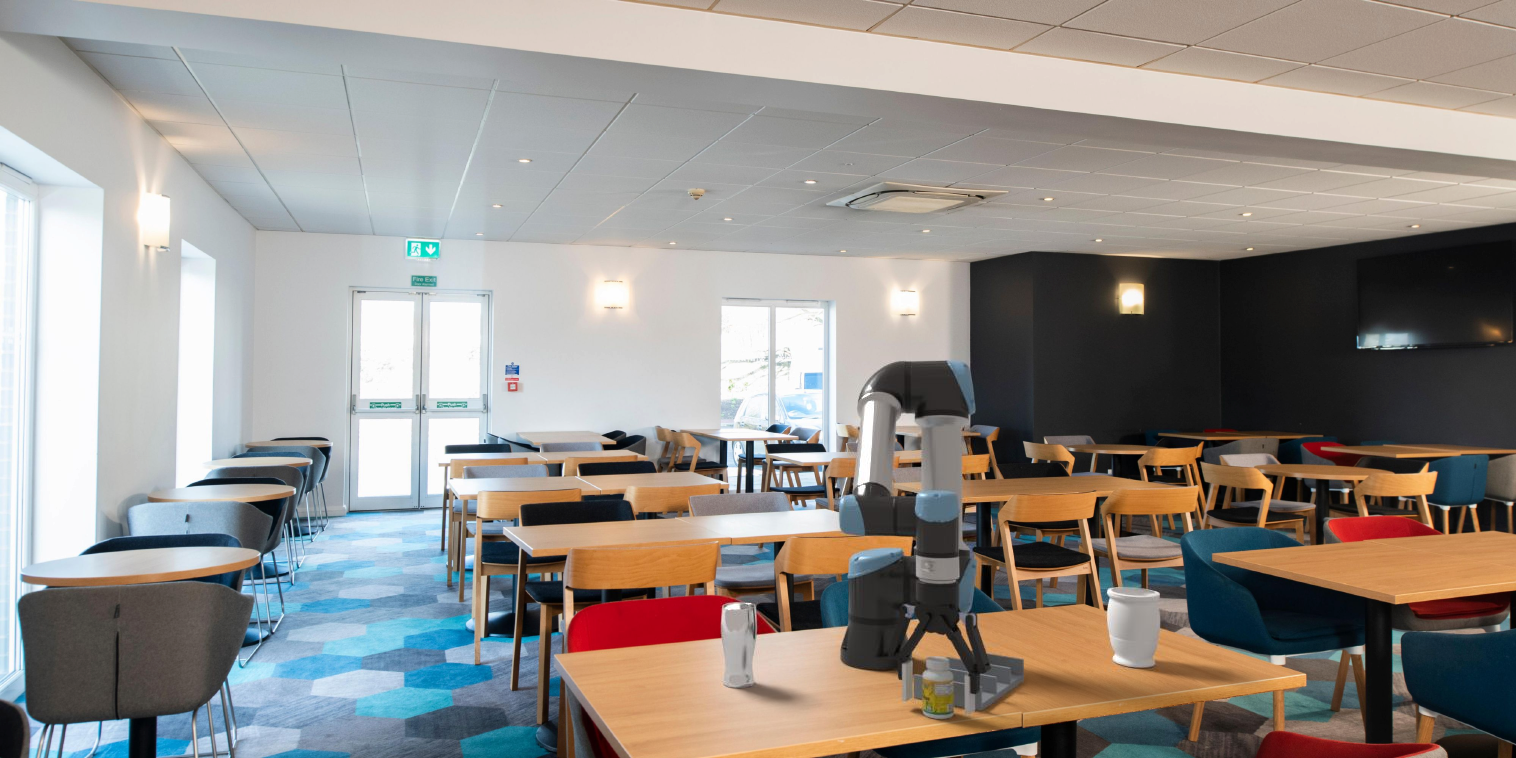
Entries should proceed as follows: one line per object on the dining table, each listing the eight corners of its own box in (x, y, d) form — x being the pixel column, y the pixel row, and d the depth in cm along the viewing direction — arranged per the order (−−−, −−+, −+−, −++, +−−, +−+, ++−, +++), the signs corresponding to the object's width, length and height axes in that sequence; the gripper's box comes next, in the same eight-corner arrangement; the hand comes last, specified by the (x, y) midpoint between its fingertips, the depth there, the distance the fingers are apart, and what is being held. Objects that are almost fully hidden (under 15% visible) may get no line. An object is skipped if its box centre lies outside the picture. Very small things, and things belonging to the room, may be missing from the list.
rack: (913, 697, 169) (913, 674, 169) (961, 669, 187) (961, 648, 187) (980, 711, 161) (980, 687, 162) (1023, 680, 180) (1023, 659, 180)
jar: (1166, 671, 186) (1165, 597, 186) (1112, 668, 188) (1111, 595, 189) (1154, 657, 196) (1153, 587, 197) (1103, 654, 198) (1102, 585, 199)
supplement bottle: (957, 719, 157) (957, 663, 158) (926, 720, 157) (926, 663, 157) (948, 709, 163) (948, 654, 163) (919, 709, 162) (919, 655, 163)
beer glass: (725, 690, 173) (725, 610, 174) (717, 679, 180) (717, 603, 180) (760, 687, 175) (761, 608, 176) (751, 676, 182) (751, 601, 182)
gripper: (868, 575, 164) (868, 698, 164) (994, 590, 151) (994, 724, 150) (887, 569, 170) (887, 687, 170) (1010, 583, 157) (1011, 712, 156)
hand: (938, 705), depth 160 cm, fingers open, 11 cm apart
